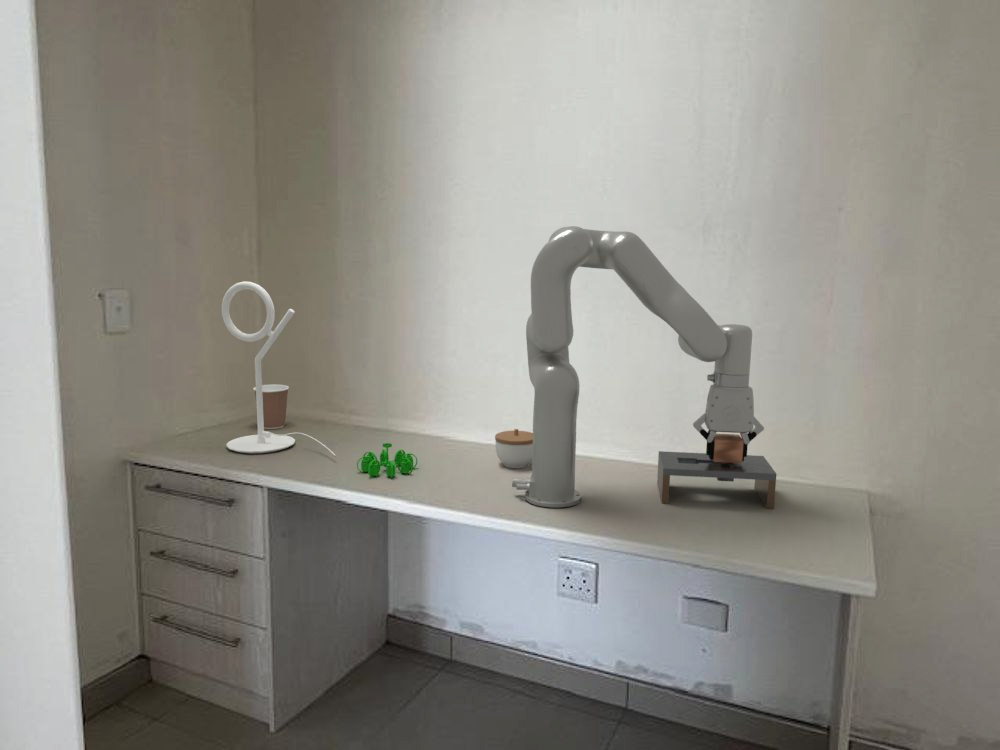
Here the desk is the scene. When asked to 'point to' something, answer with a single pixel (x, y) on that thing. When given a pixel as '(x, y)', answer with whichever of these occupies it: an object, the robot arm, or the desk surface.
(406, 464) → the chandelier
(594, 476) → the desk surface
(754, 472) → the keyhole stand
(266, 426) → the coffee cup
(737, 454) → the headed peg
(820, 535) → the desk surface
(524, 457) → the lidded jar
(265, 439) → the desk lamp
